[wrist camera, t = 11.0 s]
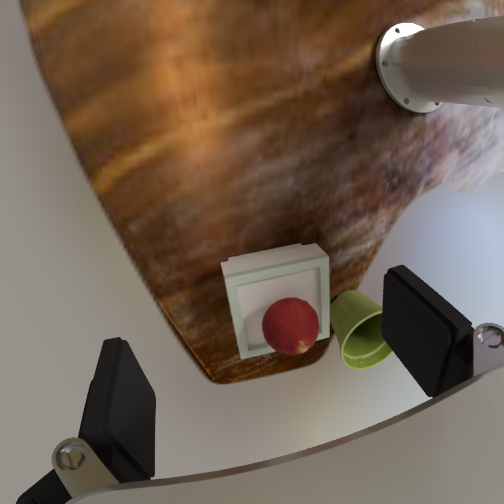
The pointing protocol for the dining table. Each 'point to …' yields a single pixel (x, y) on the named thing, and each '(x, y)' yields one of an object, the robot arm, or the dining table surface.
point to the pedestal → (275, 290)
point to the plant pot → (358, 330)
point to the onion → (290, 326)
